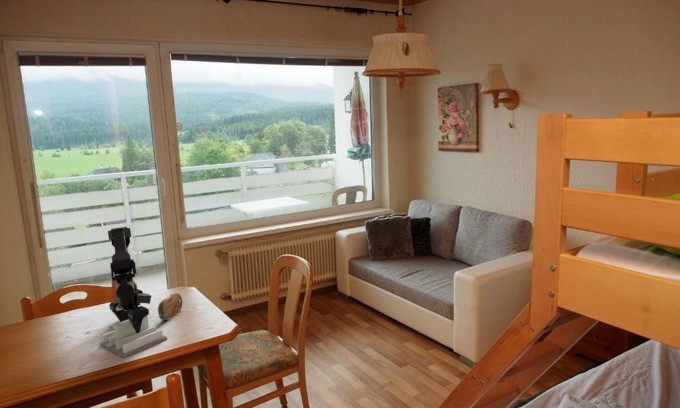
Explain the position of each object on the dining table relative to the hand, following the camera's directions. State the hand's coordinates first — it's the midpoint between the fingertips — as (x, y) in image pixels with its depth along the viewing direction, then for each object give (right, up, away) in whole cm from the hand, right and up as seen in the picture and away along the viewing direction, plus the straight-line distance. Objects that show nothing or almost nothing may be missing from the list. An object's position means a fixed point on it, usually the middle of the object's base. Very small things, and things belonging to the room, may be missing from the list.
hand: (132, 330), depth 178 cm
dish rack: (0, -5, +1) cm, 5 cm away
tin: (+6, 0, +24) cm, 25 cm away
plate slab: (0, -4, +1) cm, 4 cm away
